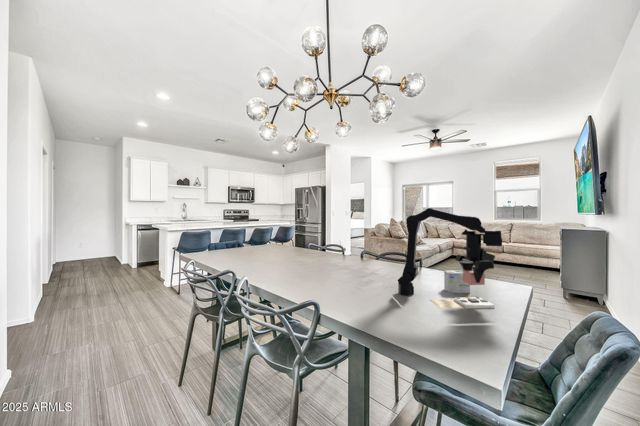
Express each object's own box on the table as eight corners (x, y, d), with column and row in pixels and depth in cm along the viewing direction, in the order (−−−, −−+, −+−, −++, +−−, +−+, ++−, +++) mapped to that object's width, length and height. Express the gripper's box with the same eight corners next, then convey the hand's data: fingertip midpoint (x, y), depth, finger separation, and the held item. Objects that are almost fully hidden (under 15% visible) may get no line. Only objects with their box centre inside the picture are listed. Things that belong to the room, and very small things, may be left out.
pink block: (470, 284, 114) (470, 273, 114) (463, 281, 120) (463, 270, 120) (484, 284, 115) (484, 273, 115) (476, 281, 121) (476, 270, 121)
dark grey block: (472, 306, 116) (472, 300, 116) (468, 303, 119) (468, 298, 119) (478, 306, 116) (479, 300, 116) (474, 303, 119) (474, 298, 119)
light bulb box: (464, 290, 140) (464, 270, 140) (470, 294, 133) (470, 273, 133) (443, 290, 141) (443, 269, 141) (448, 294, 134) (448, 272, 134)
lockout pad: (439, 309, 113) (439, 307, 113) (429, 301, 123) (429, 299, 123) (463, 309, 114) (463, 307, 114) (450, 301, 124) (450, 299, 124)
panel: (466, 310, 113) (466, 304, 113) (454, 301, 123) (454, 296, 123) (494, 309, 113) (494, 304, 113) (479, 301, 123) (479, 296, 123)
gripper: (507, 248, 108) (506, 286, 108) (478, 242, 127) (478, 275, 127) (480, 248, 108) (479, 286, 108) (455, 242, 127) (455, 275, 127)
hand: (473, 280), depth 118 cm, fingers closed on pink block, 6 cm apart
